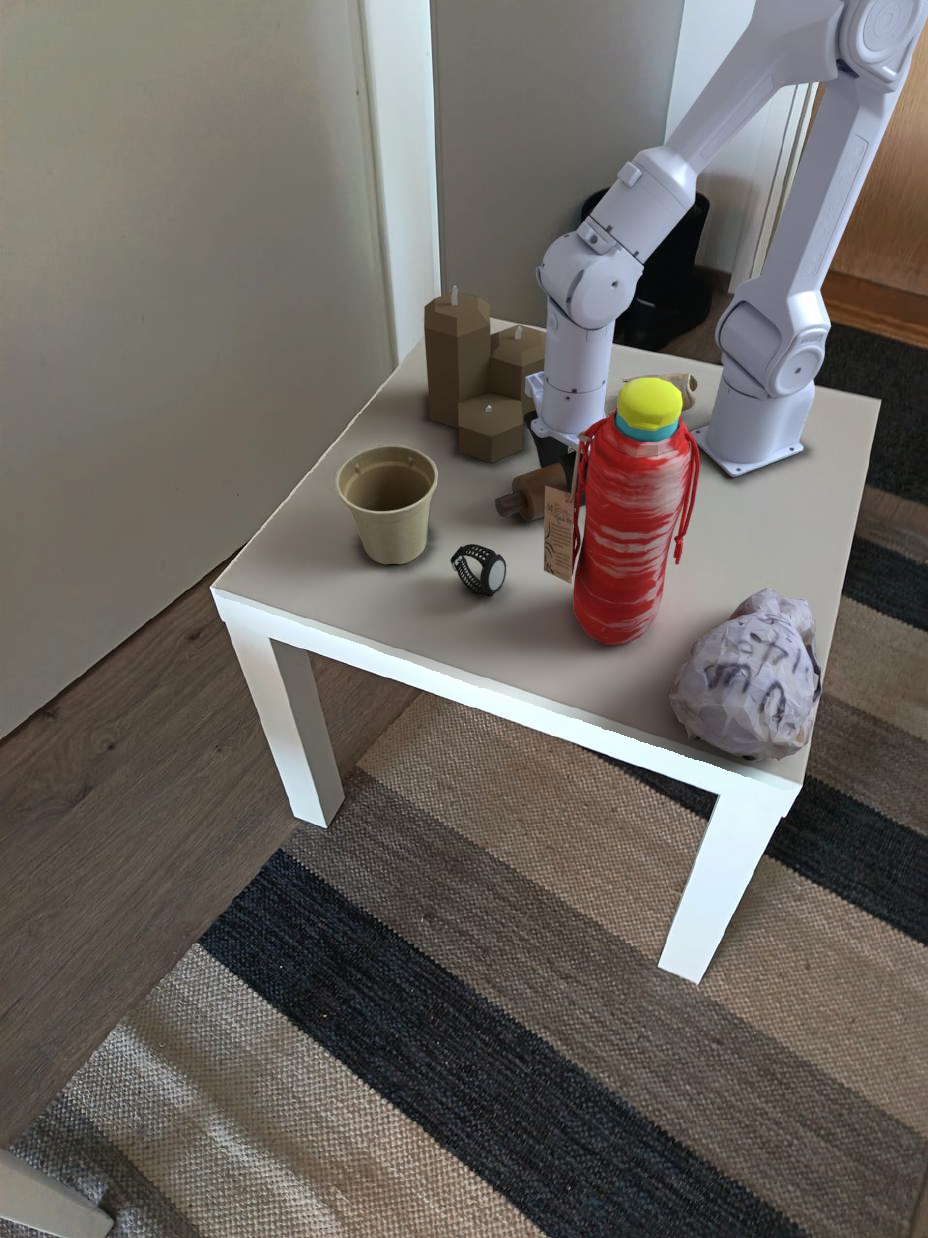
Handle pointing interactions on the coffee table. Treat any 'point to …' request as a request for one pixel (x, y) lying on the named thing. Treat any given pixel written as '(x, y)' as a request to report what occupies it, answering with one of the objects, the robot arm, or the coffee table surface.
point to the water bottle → (624, 511)
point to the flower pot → (389, 499)
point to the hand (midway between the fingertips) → (565, 488)
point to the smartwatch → (490, 572)
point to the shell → (678, 386)
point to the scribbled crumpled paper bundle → (752, 680)
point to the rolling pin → (531, 492)
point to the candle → (479, 374)
